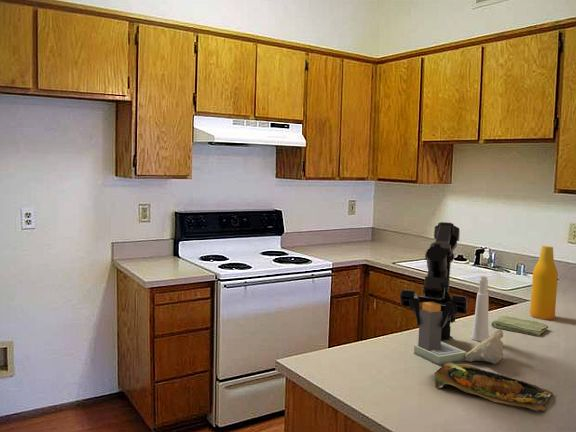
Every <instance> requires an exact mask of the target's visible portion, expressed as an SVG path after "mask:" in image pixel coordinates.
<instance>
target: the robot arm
mask: <svg viewBox="0 0 576 432" xmlns="http://www.w3.org/2000/svg"><path fill="white" fill-rule="evenodd" d="M460 234H461V233H460V227H457V226H456V225H454V223H452V222H444V221H443V222H442V221H441V222H438V224H437V225H435V226H434V232H433V238H434V240H435V241H434V242H431V244H430V246H429V248H428V249H427V250H426V251H425V257H424V258H425V260H426V267H427V274H426V276H424V282H423V283H424V284H423V289H422V290H423V295H419V294H418V293H416V290H414V289H405V288H403V289H402V290H401V291H400V295H399V298H400V303H401V306H402V307H405V308H409V309H410V310H413V313H414V315H415V318H416V319H415V320H416V324H417V326H418V327H419V322H420V309H421V306H420V304H421V303H424V302H435V303H438V304H441V311H442V322H441V341H446V340H452V339H454V337H453V336H451V324H453V323H456V315H457V314H461V315H462V314H463V315H465V314H467V312H468V311H467V309H468V297H466V295H460V294H459V295H458V294H453V295H452V298H451V295H450V294H449V289H450V277H451V276H450V275H451V263H452V262H454V260H455V254H454V251H455V249H456V248H458V247H457V246H458V242H459V241H460Z"/></svg>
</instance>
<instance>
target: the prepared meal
mask: <svg viewBox="0 0 576 432" xmlns="http://www.w3.org/2000/svg"><path fill="white" fill-rule="evenodd" d="M433 373H434V374H433V376H434V387H435V388H436V389H441V388H443V387H444V385H450V386H453V387H455V388H457V389H459V390H461V391H462V392H464V393H467V394H472V395H475V396H476V395H477V396H479V397H481V398H484V399H486V400H488V401H490V402H495V403H498V404H506V405H509V406H512V407H513V408H518V409H522V410H528V411H533V412H534V411H535V412H538V413H540V412H545V411H546V409H547V408H546V407H547V405H548V402H549V400H550V397H551V395H553V394H554V393H553V392H552V391H550V390H548V389H545V388H542V387H540V386H538V385H536V384H532V383H530V382H526V381H523V380H520V379H516V378H513V377H509V376H507V375H506V376H505V375H503V374H499V373H496V372H493V371H489V370H485V369H481V368H478V367H476V366H472V365H469V364H465V363H456V364H455V363H454V362H453V363H446V364H443V365H441V367H439V369H437V370H436V371H435V372H433ZM518 395H520V396H519V397H518Z"/></svg>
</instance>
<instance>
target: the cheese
mask: <svg viewBox="0 0 576 432" xmlns="http://www.w3.org/2000/svg"><path fill="white" fill-rule="evenodd" d="M503 331H504V330H503V329H498V330H496V331H494V332H493V333H492V334H491V335H489V337H488V338H487V339H485V340H483V341H482V342H479V343H478V344H476V345H475V346H474V347H473V348H472V349H471V350H470V351H468V352H466V355H465V359H466V360H465V361H467V362H469V363H470V362H471V363H472V362H479V361H480V362H487V363H490V364H493V365H495V364H497V363H498V362H500V361H501V359H502V358H503V357H504V342H503V341H502V340H501V339H502V338H503V337H504V332H503Z"/></svg>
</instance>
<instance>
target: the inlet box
mask: <svg viewBox="0 0 576 432" xmlns="http://www.w3.org/2000/svg"><path fill="white" fill-rule="evenodd" d="M413 347H414V348H413V353H414V355H417V356H419V357H421V358H423V359H425V360H428V361H429V362H431V363H434V364H436V365H438V366H440V365H441V366H443V365H445V364H446V363H453V364H454V363H456V362H462V361H467V360H466V359H465V355H466V354H467V351H465V350H463V349H460V348H457V347H456V346H453V345H450V344H449V343H446V342H443V341H441V347H440V349H438V350H432V351H427V350H425V349H423V348H421V347H418V344H417V345H415V344H414V346H413Z"/></svg>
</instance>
